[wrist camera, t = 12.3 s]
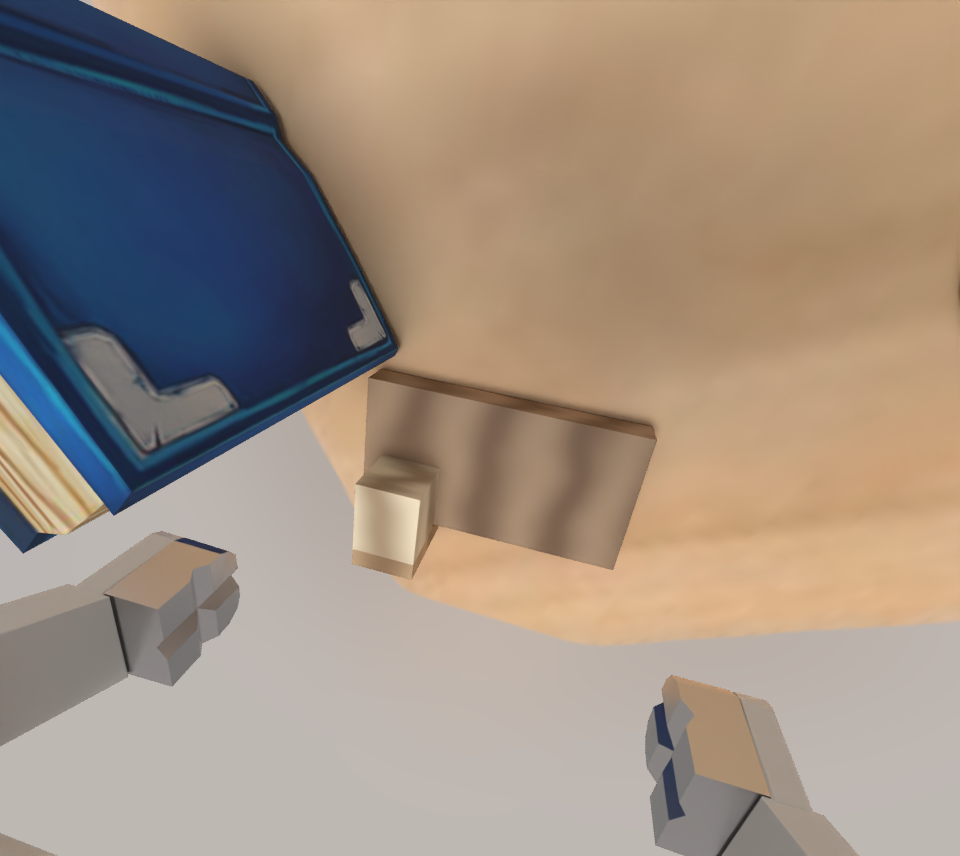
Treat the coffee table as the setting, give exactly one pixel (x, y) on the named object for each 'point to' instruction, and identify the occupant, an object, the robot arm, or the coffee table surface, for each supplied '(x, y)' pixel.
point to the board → (514, 464)
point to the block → (394, 516)
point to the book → (151, 269)
